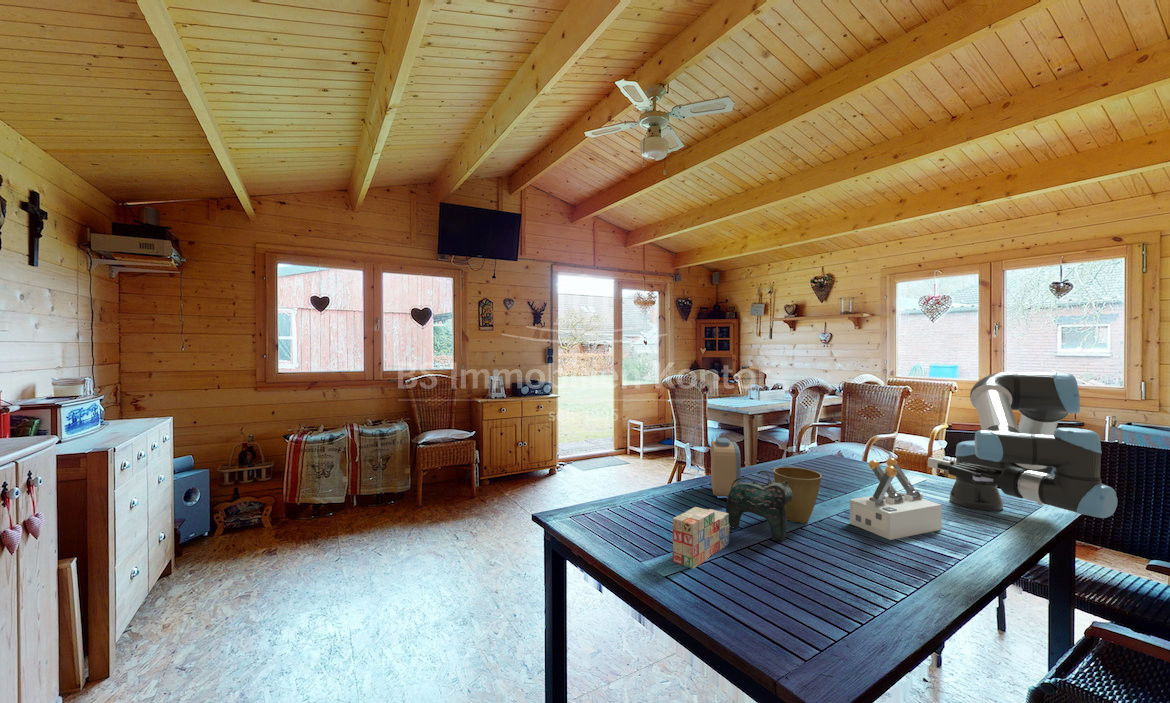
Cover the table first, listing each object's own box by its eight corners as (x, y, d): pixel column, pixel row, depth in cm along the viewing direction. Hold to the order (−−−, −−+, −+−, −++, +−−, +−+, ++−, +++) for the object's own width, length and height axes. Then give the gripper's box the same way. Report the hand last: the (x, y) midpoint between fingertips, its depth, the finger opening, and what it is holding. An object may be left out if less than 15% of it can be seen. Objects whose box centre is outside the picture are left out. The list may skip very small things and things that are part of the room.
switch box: (898, 514, 162) (899, 487, 162) (941, 529, 149) (941, 499, 149) (848, 523, 154) (848, 494, 154) (889, 540, 141) (889, 508, 141)
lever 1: (874, 498, 151) (892, 463, 145) (882, 505, 148) (901, 470, 142) (866, 500, 150) (884, 464, 144) (875, 507, 147) (893, 471, 141)
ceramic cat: (793, 539, 142) (793, 473, 141) (785, 546, 137) (785, 478, 137) (731, 522, 155) (731, 462, 155) (722, 528, 150) (722, 466, 150)
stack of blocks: (710, 538, 142) (710, 498, 142) (729, 544, 138) (729, 503, 138) (672, 562, 127) (672, 517, 127) (692, 569, 122) (692, 523, 122)
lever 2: (915, 499, 155) (889, 460, 164) (922, 495, 153) (895, 456, 162) (908, 500, 154) (882, 461, 163) (915, 496, 152) (888, 456, 160)
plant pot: (773, 523, 154) (773, 475, 154) (773, 509, 168) (773, 465, 167) (823, 530, 148) (823, 480, 148) (819, 514, 162) (819, 469, 162)
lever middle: (897, 502, 152) (871, 462, 161) (904, 498, 150) (878, 458, 159) (889, 503, 151) (864, 463, 160) (897, 499, 149) (870, 458, 158)
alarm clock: (740, 503, 174) (740, 445, 174) (714, 501, 176) (714, 444, 176) (734, 487, 194) (734, 435, 194) (710, 486, 196) (710, 434, 196)
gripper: (1009, 502, 116) (914, 476, 138) (1041, 495, 121) (944, 472, 143) (1009, 472, 116) (914, 451, 138) (1041, 466, 120) (944, 447, 143)
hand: (929, 462), depth 140 cm, fingers closed
